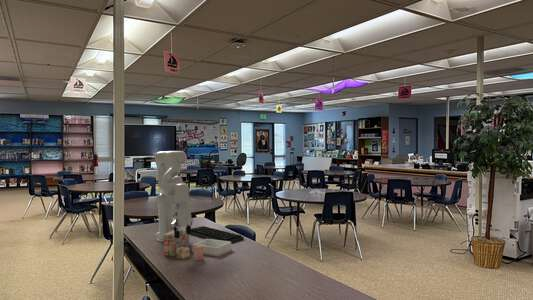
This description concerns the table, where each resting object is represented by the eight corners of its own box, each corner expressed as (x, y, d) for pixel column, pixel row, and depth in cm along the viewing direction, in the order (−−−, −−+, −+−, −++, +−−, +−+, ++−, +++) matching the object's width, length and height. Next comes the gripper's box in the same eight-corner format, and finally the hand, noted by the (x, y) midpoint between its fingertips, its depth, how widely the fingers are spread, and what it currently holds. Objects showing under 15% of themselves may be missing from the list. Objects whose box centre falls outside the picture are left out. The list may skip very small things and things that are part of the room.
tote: (192, 252, 213) (192, 244, 213) (206, 246, 226) (206, 238, 225) (217, 256, 205) (217, 247, 205) (231, 250, 217) (231, 241, 217)
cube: (176, 257, 205) (176, 248, 205) (182, 255, 209) (182, 246, 209) (183, 258, 203) (183, 249, 203) (189, 256, 207) (189, 247, 207)
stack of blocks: (180, 245, 230) (180, 226, 230) (189, 245, 229) (189, 226, 229) (163, 255, 209) (163, 234, 209) (173, 256, 208) (173, 234, 208)
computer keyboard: (243, 240, 240) (243, 235, 240) (224, 245, 229) (224, 239, 229) (203, 230, 272) (203, 225, 272) (185, 234, 261) (185, 229, 260)
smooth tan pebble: (192, 260, 200) (191, 247, 200) (197, 257, 204) (197, 245, 204) (199, 261, 198) (199, 248, 197) (205, 258, 202) (204, 246, 202)
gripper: (176, 208, 196) (177, 240, 196) (196, 203, 211) (197, 233, 211) (166, 207, 200) (167, 238, 199) (186, 203, 215) (187, 232, 215)
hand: (182, 235), depth 205 cm, fingers open, 9 cm apart
